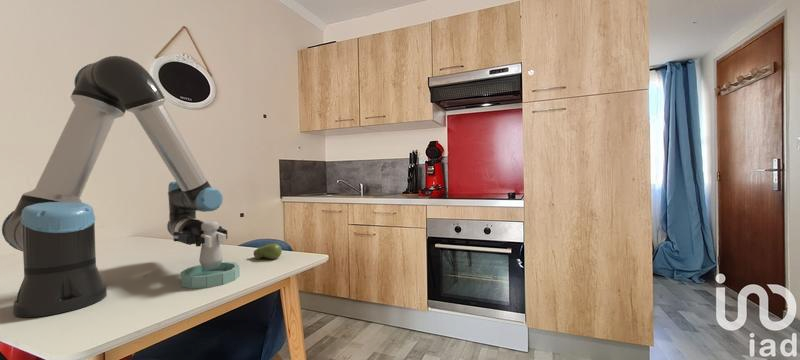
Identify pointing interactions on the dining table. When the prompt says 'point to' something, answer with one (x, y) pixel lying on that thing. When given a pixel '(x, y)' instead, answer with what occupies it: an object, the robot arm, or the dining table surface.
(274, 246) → the pear
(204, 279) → the dish
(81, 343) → the dining table surface
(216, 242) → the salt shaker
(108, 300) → the dining table surface
